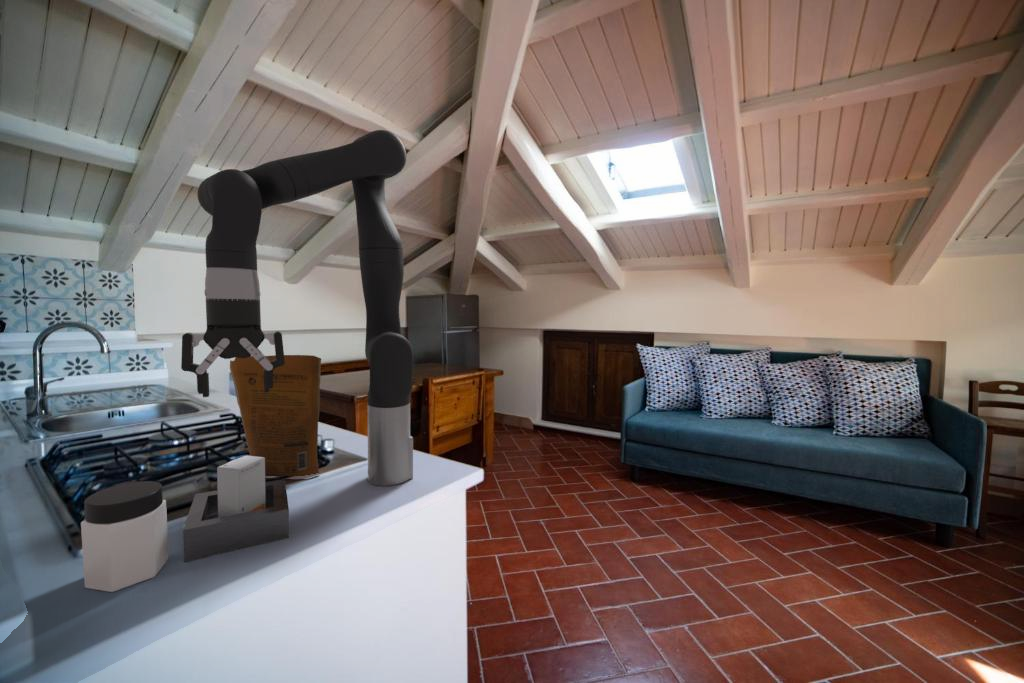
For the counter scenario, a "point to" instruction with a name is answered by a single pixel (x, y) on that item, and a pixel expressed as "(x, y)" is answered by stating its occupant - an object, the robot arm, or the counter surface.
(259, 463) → the skincare box
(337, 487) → the counter surface
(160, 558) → the jar
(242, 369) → the pancake mix bag
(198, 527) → the socket block
